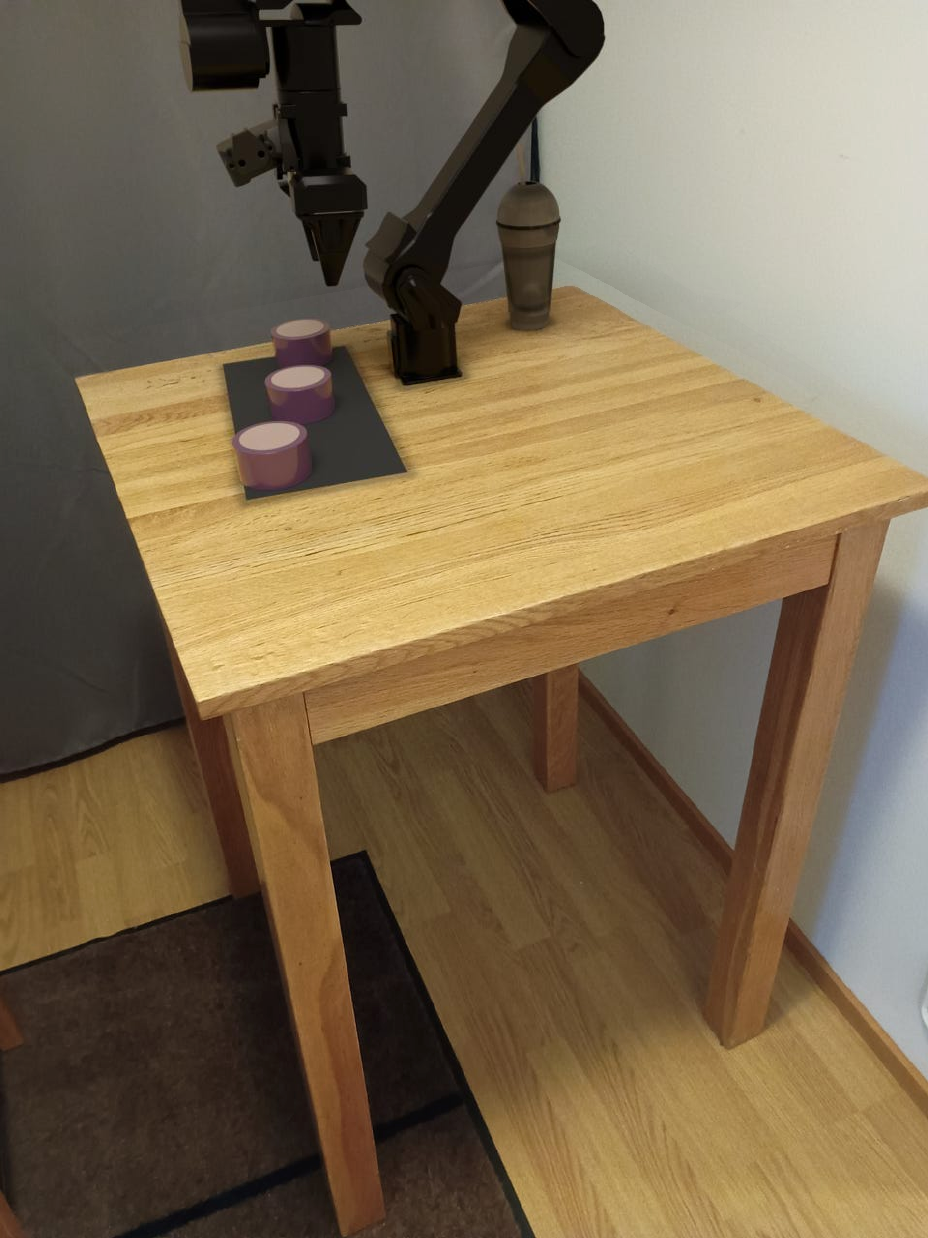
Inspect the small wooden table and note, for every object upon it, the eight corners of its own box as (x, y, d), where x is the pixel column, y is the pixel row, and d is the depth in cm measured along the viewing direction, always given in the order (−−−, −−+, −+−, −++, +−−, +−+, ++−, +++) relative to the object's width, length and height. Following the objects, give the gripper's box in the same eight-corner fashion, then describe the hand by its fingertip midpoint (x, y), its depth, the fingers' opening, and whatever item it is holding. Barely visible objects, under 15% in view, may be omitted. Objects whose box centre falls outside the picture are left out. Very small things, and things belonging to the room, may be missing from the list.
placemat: (345, 347, 107) (345, 345, 107) (407, 474, 81) (407, 471, 81) (223, 366, 104) (222, 363, 104) (246, 503, 78) (246, 499, 78)
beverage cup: (538, 338, 106) (536, 144, 94) (486, 327, 110) (479, 140, 98) (572, 319, 110) (574, 132, 98) (521, 309, 114) (518, 128, 102)
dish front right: (308, 451, 85) (302, 415, 83) (318, 483, 80) (311, 445, 78) (237, 463, 84) (228, 426, 82) (242, 496, 79) (234, 458, 77)
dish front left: (330, 393, 96) (326, 360, 93) (340, 418, 90) (335, 383, 88) (267, 403, 94) (261, 369, 92) (274, 429, 89) (267, 394, 87)
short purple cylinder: (329, 345, 107) (324, 314, 105) (338, 365, 102) (333, 333, 100) (273, 353, 106) (267, 322, 104) (279, 374, 101) (273, 342, 98)
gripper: (209, 79, 86) (233, 254, 95) (220, 103, 71) (247, 307, 81) (328, 76, 89) (340, 247, 98) (362, 99, 74) (373, 297, 83)
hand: (324, 272), depth 90 cm, fingers open, 9 cm apart
